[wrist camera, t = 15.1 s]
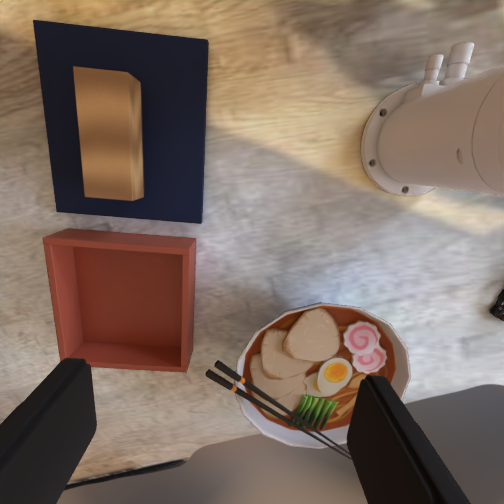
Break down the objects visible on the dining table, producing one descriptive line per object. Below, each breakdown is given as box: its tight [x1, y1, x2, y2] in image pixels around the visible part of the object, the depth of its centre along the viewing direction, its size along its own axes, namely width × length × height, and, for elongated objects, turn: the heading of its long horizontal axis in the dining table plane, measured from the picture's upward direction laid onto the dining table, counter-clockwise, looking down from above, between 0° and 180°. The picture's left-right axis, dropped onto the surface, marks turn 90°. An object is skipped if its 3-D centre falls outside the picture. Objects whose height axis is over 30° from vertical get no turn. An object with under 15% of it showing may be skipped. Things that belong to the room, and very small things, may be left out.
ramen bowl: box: [206, 302, 411, 459], centre depth 39 cm, size 25×23×8 cm
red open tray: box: [43, 228, 196, 372], centre depth 37 cm, size 18×17×5 cm
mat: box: [33, 20, 209, 224], centre depth 33 cm, size 20×18×1 cm
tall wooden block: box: [73, 66, 145, 201], centre depth 30 cm, size 12×5×5 cm, turn 175°
